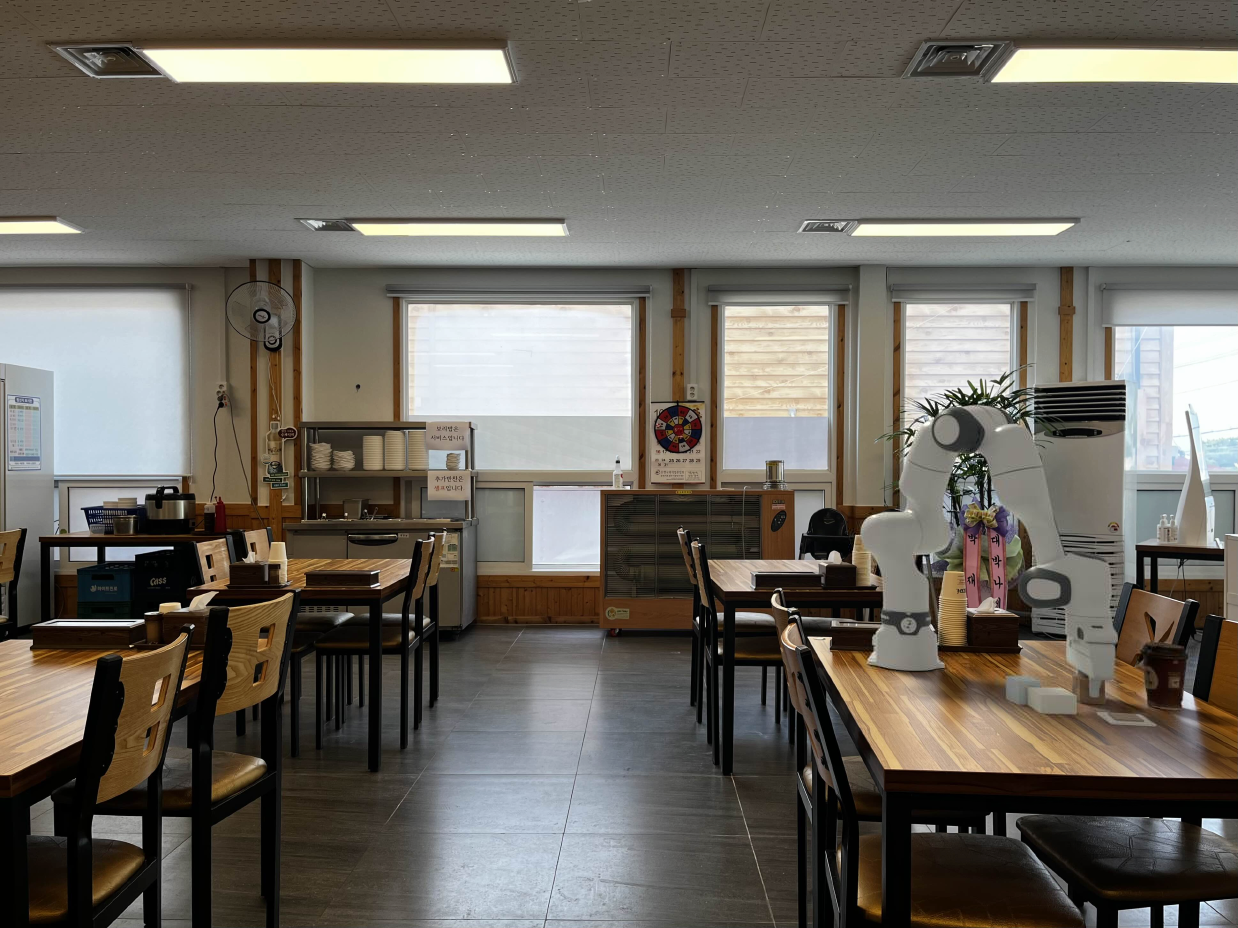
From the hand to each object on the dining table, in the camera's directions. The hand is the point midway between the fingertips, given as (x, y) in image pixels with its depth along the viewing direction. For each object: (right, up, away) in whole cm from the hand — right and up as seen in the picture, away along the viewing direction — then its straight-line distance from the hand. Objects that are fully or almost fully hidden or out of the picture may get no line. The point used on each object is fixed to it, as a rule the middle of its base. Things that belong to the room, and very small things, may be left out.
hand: (1088, 693), depth 194 cm
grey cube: (-14, -2, -1) cm, 15 cm away
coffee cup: (+13, -2, -5) cm, 14 cm away
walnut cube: (0, -2, 0) cm, 2 cm away
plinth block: (-12, -2, -8) cm, 14 cm away
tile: (-1, -1, -16) cm, 16 cm away
